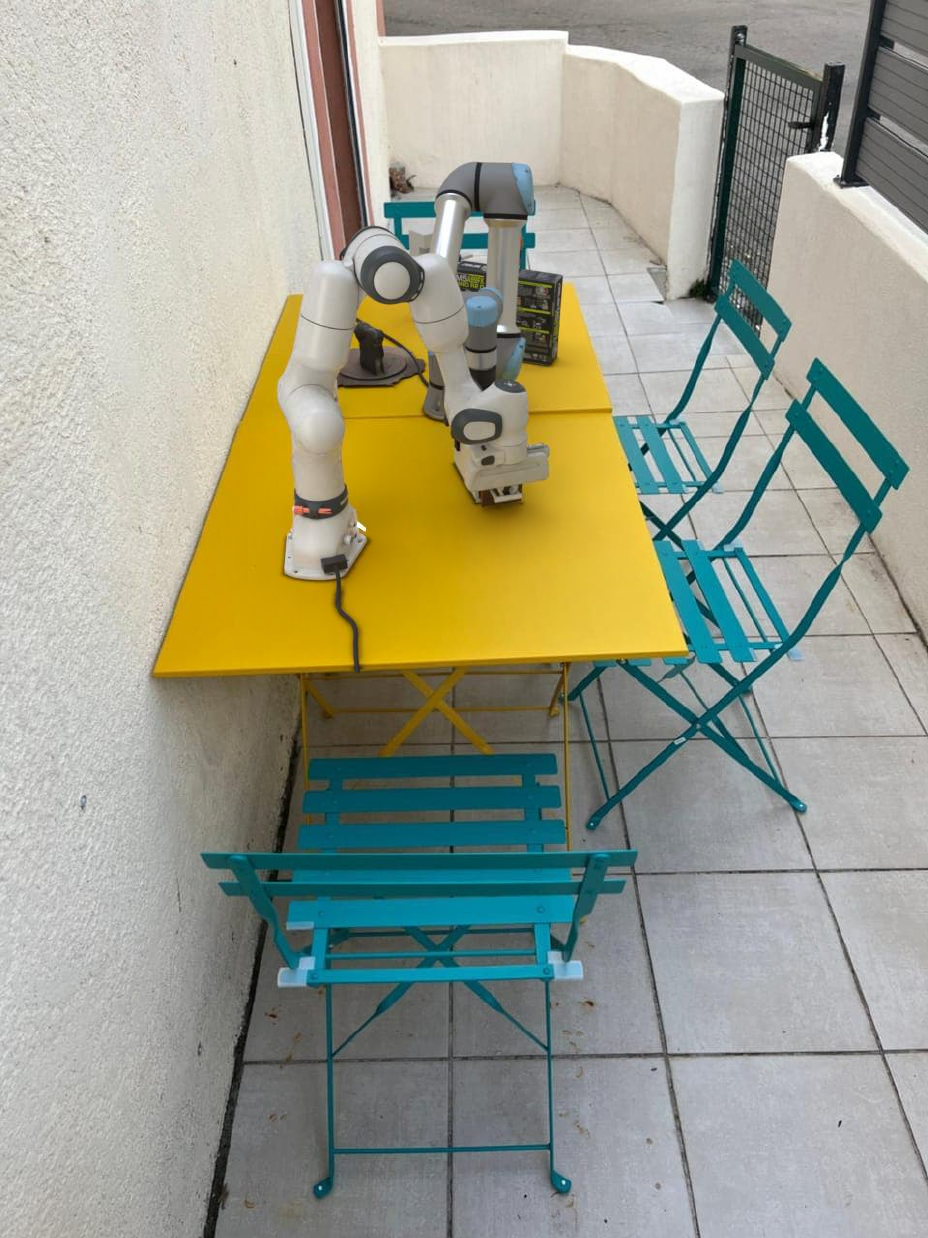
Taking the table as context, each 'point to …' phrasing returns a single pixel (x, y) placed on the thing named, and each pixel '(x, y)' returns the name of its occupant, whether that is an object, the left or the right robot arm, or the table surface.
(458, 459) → the cabinet
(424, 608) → the table surface
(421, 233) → the toy
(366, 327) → the sculpture
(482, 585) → the table surface
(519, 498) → the drawer
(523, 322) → the box
